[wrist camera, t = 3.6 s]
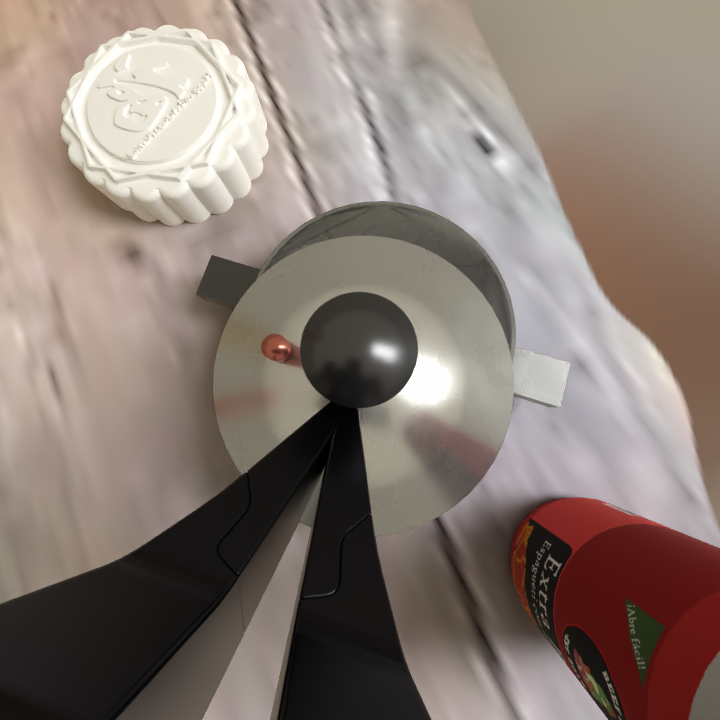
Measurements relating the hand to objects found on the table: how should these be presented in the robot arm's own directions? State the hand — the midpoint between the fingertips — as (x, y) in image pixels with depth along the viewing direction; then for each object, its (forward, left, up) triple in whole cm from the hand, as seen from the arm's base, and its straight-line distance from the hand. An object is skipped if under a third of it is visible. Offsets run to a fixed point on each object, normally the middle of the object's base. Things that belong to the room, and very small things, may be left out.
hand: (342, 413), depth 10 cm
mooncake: (+5, +21, -10) cm, 24 cm away
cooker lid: (+2, +1, -6) cm, 7 cm away
